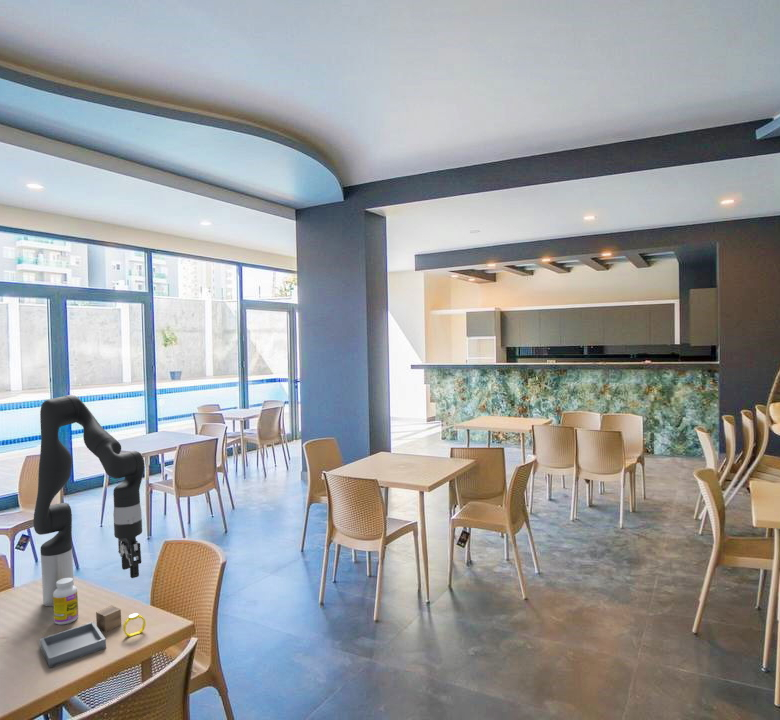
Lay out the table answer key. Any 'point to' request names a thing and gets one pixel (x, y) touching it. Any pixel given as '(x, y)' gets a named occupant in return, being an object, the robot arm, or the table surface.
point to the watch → (132, 617)
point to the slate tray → (72, 644)
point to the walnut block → (108, 618)
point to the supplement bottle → (65, 602)
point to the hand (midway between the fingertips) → (130, 572)
